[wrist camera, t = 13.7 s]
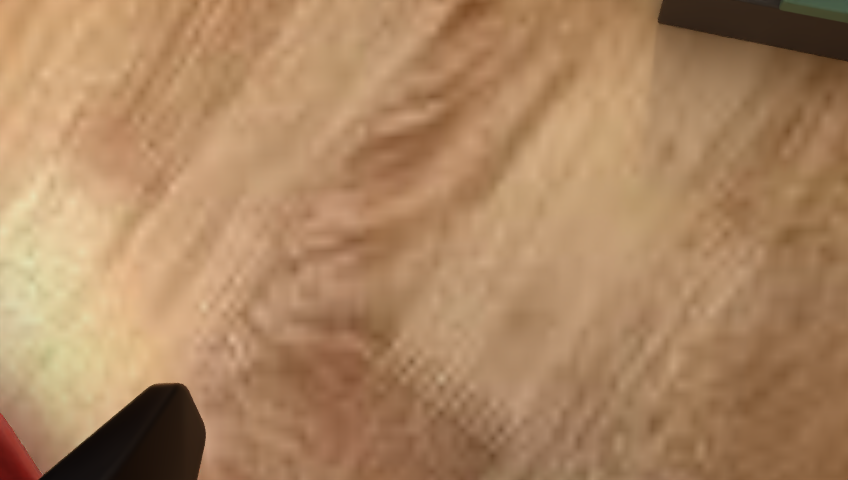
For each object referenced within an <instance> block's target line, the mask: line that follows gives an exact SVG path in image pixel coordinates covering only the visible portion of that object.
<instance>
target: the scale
mask: <svg viewBox="0 0 848 480" xmlns="http://www.w3.org/2000/svg"><path fill="white" fill-rule="evenodd" d="M658 22H659V23H662V24H667V25H672V26H677V27H682V28H687V29H692V30H697V31H702V32H707V33H711V34H716V35H721V36H726V37H731V38H736V39H741V40H746V41H751V42H756V43H761V44H766V45H771V46H776V47H781V48H786V49H791V50H796V51H800V52H805V53H810V54H815V55H820V56H825V57H830V58H835V59H840V60H845V61H848V0H663V1H662V5H661V9H660V13H659V17H658Z"/></svg>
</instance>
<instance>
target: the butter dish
mask: <svg viewBox="0 0 848 480" xmlns="http://www.w3.org/2000/svg"><path fill="white" fill-rule="evenodd" d="M42 476H43V475H42V473H41V472H40V471H39V469H38V468H37V467H36V465H35V464H34V462H33V460H32V459H31V457H30V456H29V454H28V453H27V451H26V449H25V447H24V446H23V445H22V444H21V442H20V441H19V439H18V437H17V436H16V435H15V433H14V431H13V429H12V428H11V427H10V426H9V424H8V423H7V421H6V419H5V418H4V417H3V415H2V414H1V413H0V480H38V479H39V478H41V477H42Z"/></svg>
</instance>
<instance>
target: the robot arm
mask: <svg viewBox="0 0 848 480" xmlns="http://www.w3.org/2000/svg"><path fill="white" fill-rule="evenodd" d="M205 439H206V431H205V426H204V422H203V420H202V418H201V416H200V414H199V412H198V409H197V407H196V405H195V403H194V401H193V399H192V397H191V394H190V392H189V390H188V389H187V387H186V386H184V385H183V384H180V383H161V384H154V385H151V386H150V387H148V388H147V389H146V390H144V391H143V392H142V393H141V394H140V395H138V396H137V397H136V398H135V399H134V400H133V401H131V402H130V403H129V404H128V405H127V406H125V407H124V408H123V409H122V410H121V411H119V412H118V413H117V414H116V415H115V416H113V417H112V418H111V419H110V420H109V421H107V422H106V423H105V424H104V425H103V426H101V427H100V428H99V429H98V430H97V431H96V432H94V433H93V434H92V435H91V436H90V437H88V438H87V439H86V440H85V441H84V442H82V443H81V444H80V445H79V446H78V447H76V448H75V449H74V450H73V451H72V452H70V453H69V454H68V455H67V456H66V457H64V458H63V459H62V460H61V461H60V462H58V463H57V464H56V465H55V466H54V467H53V468H51V469H50V470H49V471H48V472H47V473H45V474H44V475H43V476H42V477H41V478H39V479H38V480H197V478H198V473H199V469H200V464H201V460H202V455H203V450H204V446H205Z"/></svg>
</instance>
